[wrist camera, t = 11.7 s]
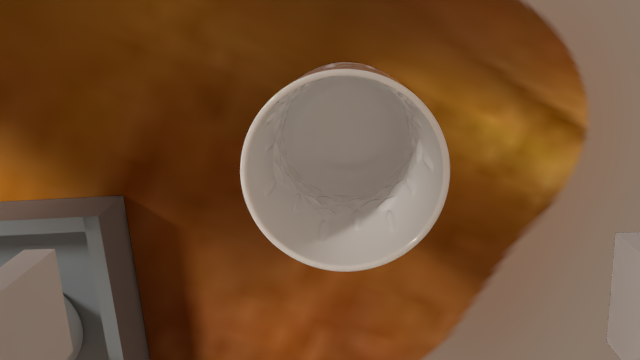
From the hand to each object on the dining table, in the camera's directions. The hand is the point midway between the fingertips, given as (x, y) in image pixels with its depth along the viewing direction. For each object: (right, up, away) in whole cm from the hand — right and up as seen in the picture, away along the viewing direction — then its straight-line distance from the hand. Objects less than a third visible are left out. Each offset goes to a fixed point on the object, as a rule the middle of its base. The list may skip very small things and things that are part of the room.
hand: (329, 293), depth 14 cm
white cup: (+1, +6, +18) cm, 19 cm away
